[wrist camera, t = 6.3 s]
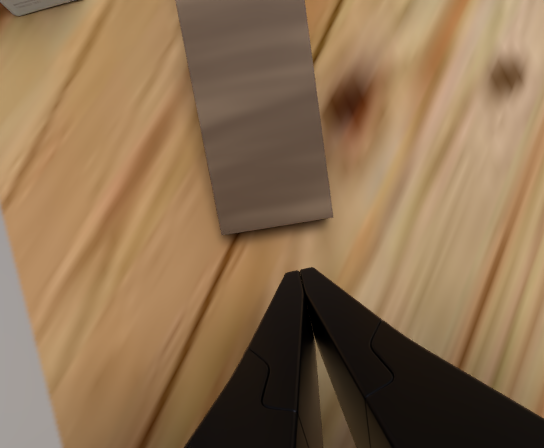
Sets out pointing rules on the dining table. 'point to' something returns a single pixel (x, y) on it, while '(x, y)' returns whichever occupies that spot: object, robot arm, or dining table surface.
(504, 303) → the dining table surface
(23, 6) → the skincare box
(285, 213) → the domino
